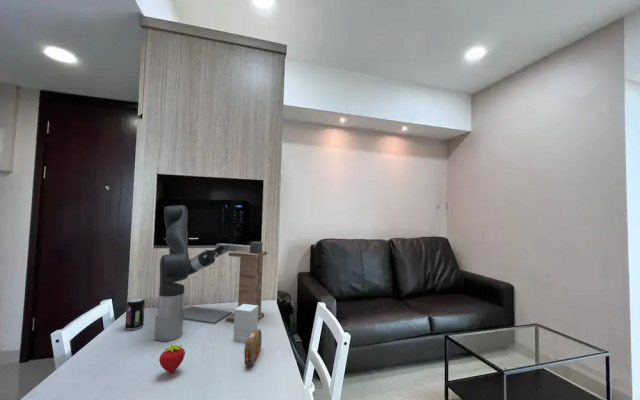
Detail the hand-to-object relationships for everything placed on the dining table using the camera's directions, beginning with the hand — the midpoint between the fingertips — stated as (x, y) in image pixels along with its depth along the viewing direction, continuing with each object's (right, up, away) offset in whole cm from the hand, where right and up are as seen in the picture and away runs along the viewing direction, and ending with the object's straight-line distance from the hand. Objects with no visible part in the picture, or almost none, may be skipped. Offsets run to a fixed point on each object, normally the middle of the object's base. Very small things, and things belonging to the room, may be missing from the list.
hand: (228, 246), depth 138 cm
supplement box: (+15, -34, -24) cm, 44 cm away
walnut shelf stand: (+10, -35, -4) cm, 36 cm away
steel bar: (+5, -2, -1) cm, 6 cm away
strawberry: (-2, -33, -50) cm, 59 cm away
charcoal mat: (-12, -34, -2) cm, 36 cm away
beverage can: (-35, -33, -18) cm, 51 cm away
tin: (+22, -34, -39) cm, 56 cm away
